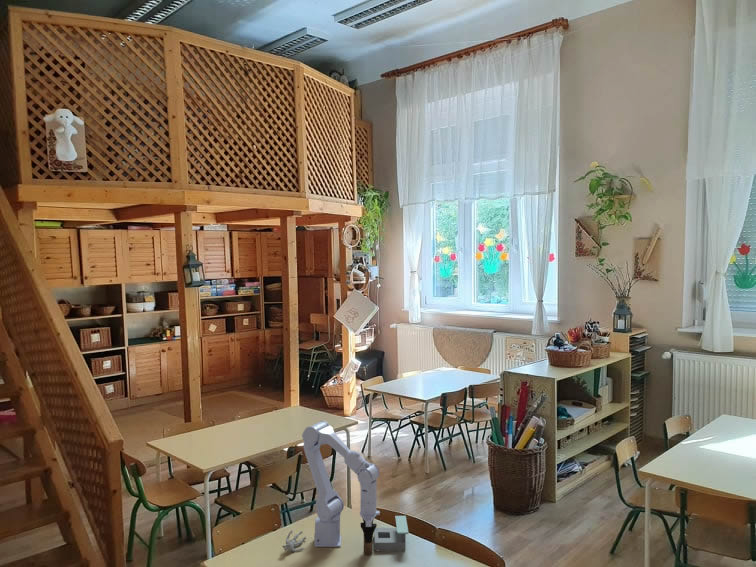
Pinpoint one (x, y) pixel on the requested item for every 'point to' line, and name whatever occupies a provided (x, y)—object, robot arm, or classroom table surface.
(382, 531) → the socket block
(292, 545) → the grey branched piece
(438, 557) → the classroom table surface
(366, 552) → the peg
